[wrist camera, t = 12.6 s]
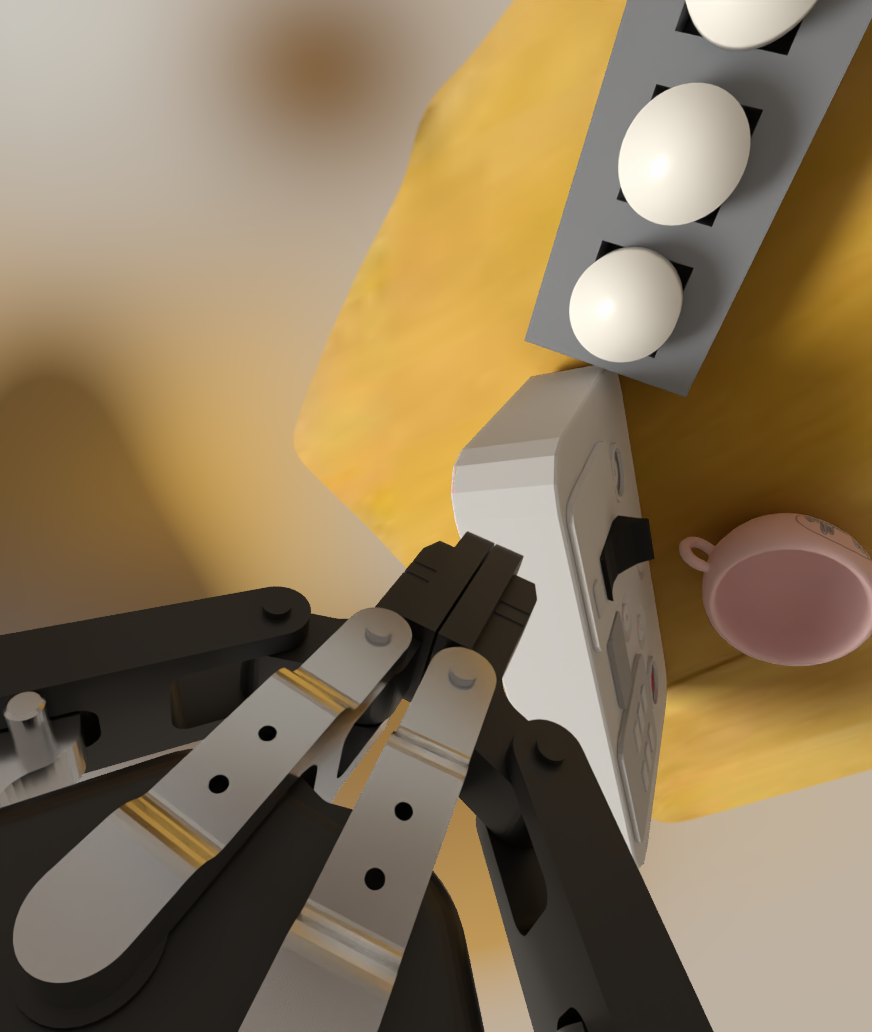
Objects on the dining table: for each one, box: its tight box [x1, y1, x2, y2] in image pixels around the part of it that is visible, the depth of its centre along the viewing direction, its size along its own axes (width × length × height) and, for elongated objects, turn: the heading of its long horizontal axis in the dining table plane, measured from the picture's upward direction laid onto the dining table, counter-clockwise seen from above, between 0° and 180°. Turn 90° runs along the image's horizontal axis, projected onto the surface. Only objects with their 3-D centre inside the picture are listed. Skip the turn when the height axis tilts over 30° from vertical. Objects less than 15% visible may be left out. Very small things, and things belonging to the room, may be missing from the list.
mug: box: [679, 513, 872, 666], centre depth 40 cm, size 12×10×6 cm
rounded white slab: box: [451, 365, 667, 868], centre depth 39 cm, size 29×8×18 cm, turn 17°
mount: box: [524, 0, 872, 397], centre depth 31 cm, size 10×22×5 cm, turn 167°
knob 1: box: [569, 247, 683, 362], centre depth 34 cm, size 6×6×6 cm
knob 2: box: [618, 83, 750, 225], centre depth 30 cm, size 6×6×6 cm
